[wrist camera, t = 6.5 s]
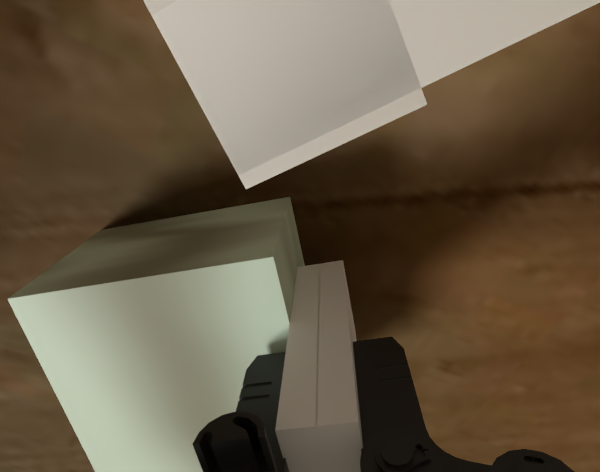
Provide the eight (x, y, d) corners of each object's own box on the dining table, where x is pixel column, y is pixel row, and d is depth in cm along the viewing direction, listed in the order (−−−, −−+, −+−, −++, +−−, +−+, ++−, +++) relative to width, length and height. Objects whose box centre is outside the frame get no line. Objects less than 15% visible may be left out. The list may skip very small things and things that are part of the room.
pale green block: (162, 381, 18) (105, 491, 13) (102, 228, 15) (7, 298, 11) (325, 361, 17) (325, 470, 12) (290, 196, 15) (273, 256, 10)
